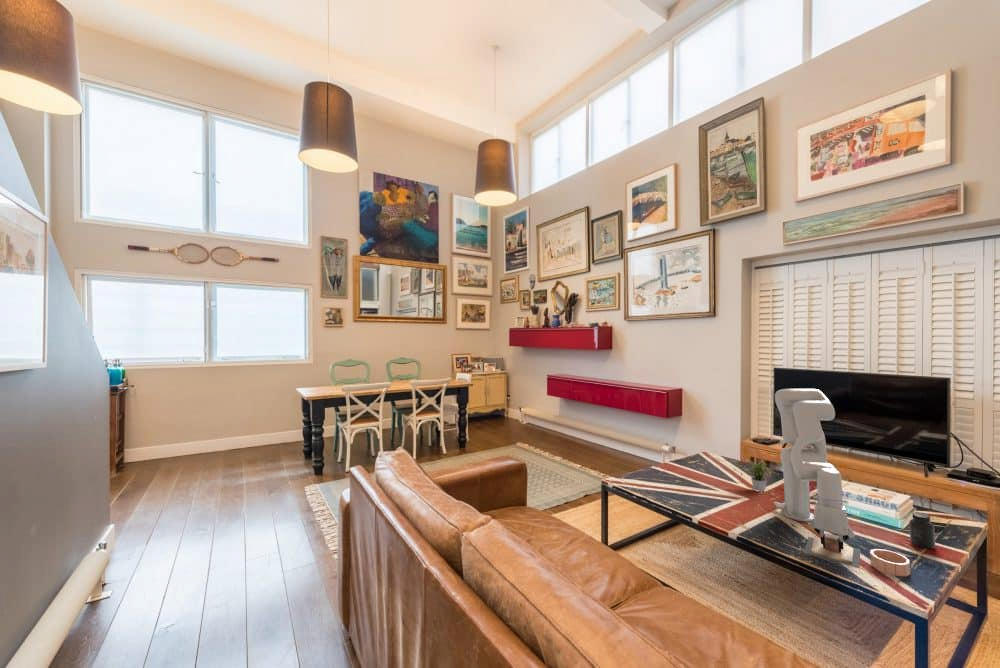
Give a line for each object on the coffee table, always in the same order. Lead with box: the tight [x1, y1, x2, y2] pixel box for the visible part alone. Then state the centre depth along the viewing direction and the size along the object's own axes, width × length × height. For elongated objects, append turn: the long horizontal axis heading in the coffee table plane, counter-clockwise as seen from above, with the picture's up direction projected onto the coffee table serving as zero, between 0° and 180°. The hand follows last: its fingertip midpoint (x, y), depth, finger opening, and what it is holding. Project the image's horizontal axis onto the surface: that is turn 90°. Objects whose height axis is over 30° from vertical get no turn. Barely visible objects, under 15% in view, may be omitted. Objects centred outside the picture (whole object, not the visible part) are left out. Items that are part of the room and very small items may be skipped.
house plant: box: [744, 458, 773, 491], centre depth 217 cm, size 14×14×16 cm
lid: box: [811, 532, 854, 564], centre depth 154 cm, size 12×12×6 cm
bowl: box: [870, 548, 911, 577], centre depth 142 cm, size 10×10×5 cm
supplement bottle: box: [909, 511, 936, 550], centre depth 157 cm, size 7×7×12 cm
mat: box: [803, 536, 861, 569], centre depth 154 cm, size 16×16×1 cm
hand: (832, 547), depth 154 cm, fingers closed on lid, 4 cm apart
